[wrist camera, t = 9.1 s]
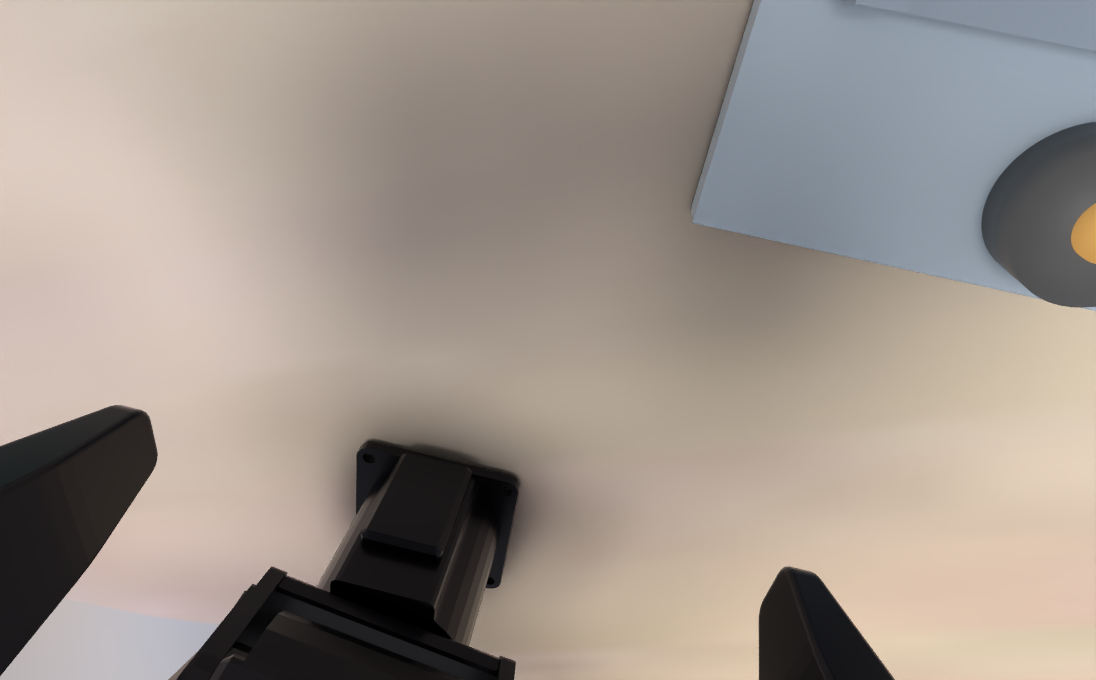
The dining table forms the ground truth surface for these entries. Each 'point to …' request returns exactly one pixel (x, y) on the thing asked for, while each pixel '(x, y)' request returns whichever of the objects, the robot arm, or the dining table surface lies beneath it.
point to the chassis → (917, 138)
